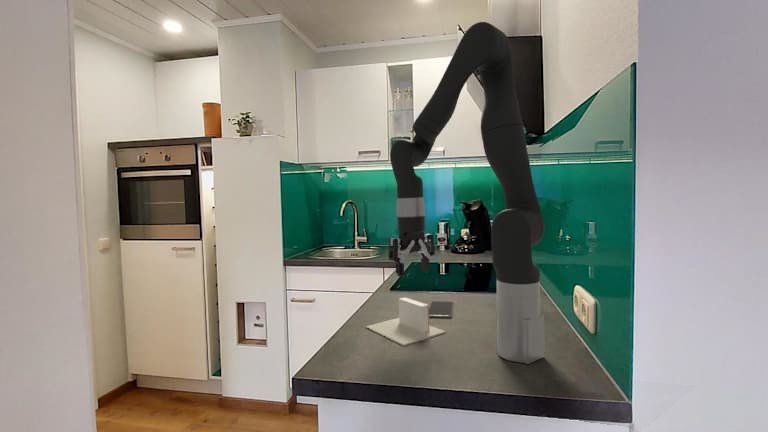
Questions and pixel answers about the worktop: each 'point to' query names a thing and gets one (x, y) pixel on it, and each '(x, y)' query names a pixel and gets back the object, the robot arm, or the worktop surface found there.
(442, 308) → the smartphone
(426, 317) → the block
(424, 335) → the mat
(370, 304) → the worktop surface
